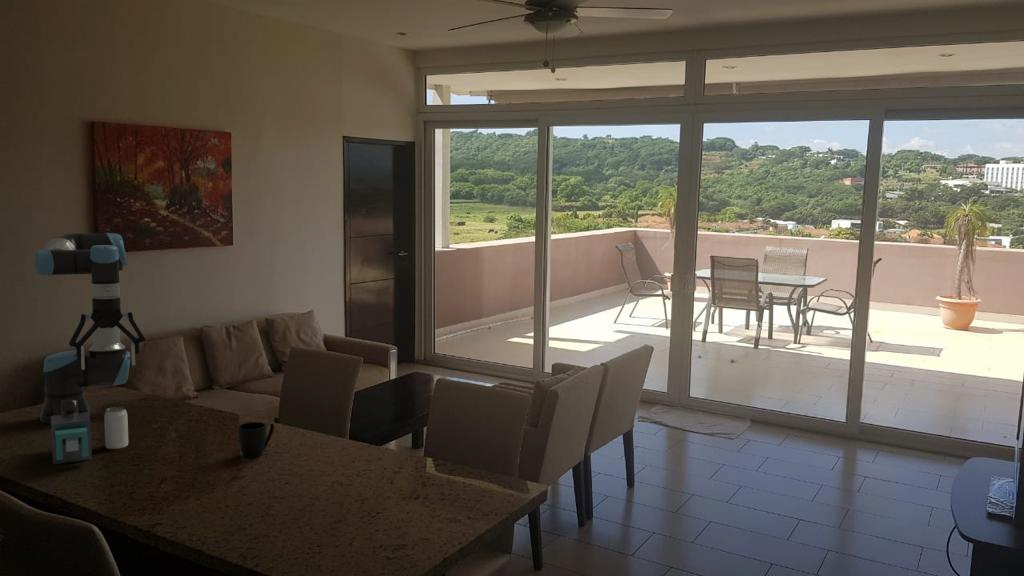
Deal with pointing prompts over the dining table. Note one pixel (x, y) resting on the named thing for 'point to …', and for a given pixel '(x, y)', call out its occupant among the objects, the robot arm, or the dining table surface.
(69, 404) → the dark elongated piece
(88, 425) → the housing
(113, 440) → the can
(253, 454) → the mug
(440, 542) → the dining table surface
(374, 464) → the dining table surface
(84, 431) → the block
